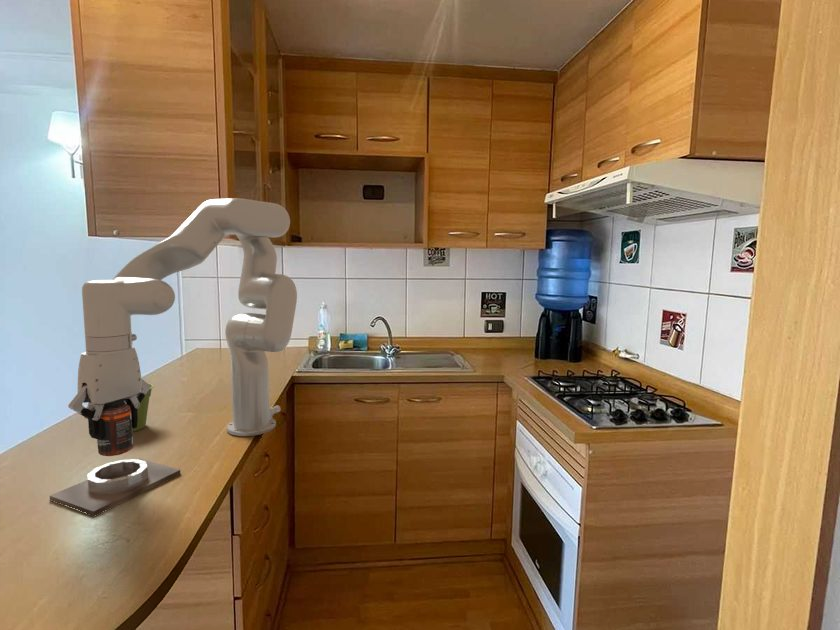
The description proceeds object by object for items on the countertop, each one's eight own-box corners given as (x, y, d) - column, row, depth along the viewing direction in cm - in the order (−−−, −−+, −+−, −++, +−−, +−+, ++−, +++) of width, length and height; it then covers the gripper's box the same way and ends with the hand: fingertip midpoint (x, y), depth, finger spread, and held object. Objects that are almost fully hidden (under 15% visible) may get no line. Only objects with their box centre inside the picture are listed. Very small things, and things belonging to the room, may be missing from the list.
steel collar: (126, 466, 100) (125, 455, 100) (158, 476, 96) (157, 464, 96) (76, 487, 91) (75, 475, 91) (110, 499, 87) (109, 486, 87)
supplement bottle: (139, 445, 96) (136, 392, 94) (122, 457, 90) (119, 401, 88) (110, 445, 96) (106, 392, 94) (90, 457, 90) (87, 400, 88)
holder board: (139, 462, 105) (139, 458, 104) (180, 474, 100) (180, 469, 99) (49, 500, 88) (49, 495, 88) (93, 516, 83) (93, 511, 83)
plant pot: (145, 435, 120) (142, 393, 118) (95, 437, 118) (91, 394, 117) (162, 419, 132) (160, 381, 130) (117, 421, 130) (114, 382, 128)
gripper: (138, 335, 99) (142, 416, 102) (47, 349, 84) (55, 444, 86) (162, 338, 96) (166, 421, 99) (73, 353, 81) (80, 452, 83)
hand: (114, 431), depth 92 cm, fingers closed on supplement bottle, 6 cm apart
